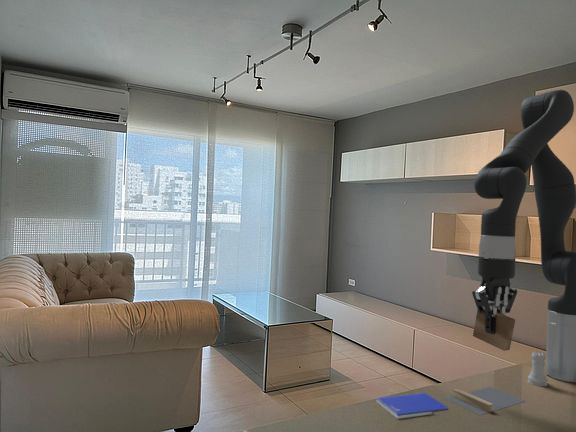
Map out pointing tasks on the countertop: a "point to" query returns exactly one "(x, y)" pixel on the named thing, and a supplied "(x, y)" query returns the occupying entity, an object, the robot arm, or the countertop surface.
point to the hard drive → (410, 405)
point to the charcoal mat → (488, 400)
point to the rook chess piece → (538, 370)
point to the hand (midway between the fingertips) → (493, 332)
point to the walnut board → (502, 331)
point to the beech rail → (473, 400)
